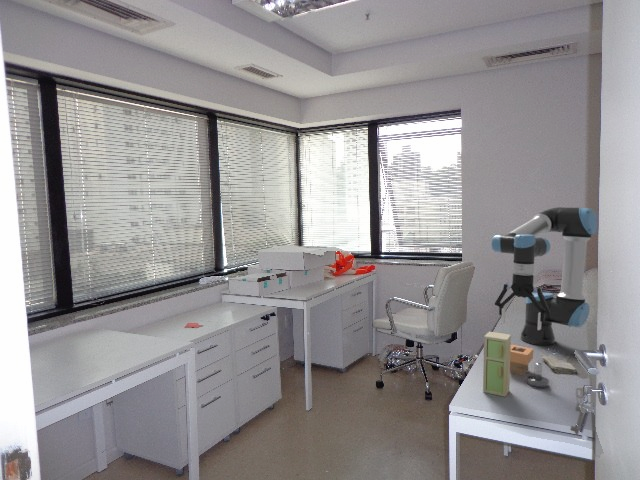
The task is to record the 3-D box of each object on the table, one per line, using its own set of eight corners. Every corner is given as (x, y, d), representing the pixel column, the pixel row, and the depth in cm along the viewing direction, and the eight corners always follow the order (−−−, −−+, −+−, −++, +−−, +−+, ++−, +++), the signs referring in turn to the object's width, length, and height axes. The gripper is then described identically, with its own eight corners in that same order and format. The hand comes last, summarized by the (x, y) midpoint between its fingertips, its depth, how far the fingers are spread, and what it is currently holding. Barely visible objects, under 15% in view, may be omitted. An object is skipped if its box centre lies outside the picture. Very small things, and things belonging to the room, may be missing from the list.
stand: (511, 366, 191) (512, 344, 190) (528, 370, 187) (529, 347, 186) (507, 371, 186) (508, 348, 185) (523, 375, 182) (525, 352, 181)
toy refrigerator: (481, 392, 167) (483, 336, 164) (486, 385, 173) (488, 331, 170) (504, 398, 162) (507, 340, 160) (509, 390, 168) (511, 334, 166)
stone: (540, 360, 199) (540, 354, 199) (566, 362, 197) (567, 356, 197) (550, 373, 185) (550, 367, 185) (579, 375, 183) (579, 369, 183)
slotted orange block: (509, 353, 192) (510, 344, 192) (532, 358, 187) (533, 348, 186) (503, 359, 185) (503, 350, 185) (527, 364, 180) (527, 355, 179)
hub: (529, 379, 179) (530, 359, 178) (550, 383, 174) (551, 363, 173) (524, 385, 173) (525, 364, 172) (545, 390, 169) (546, 369, 168)
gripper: (487, 271, 186) (486, 322, 189) (556, 278, 171) (553, 334, 174) (493, 269, 192) (491, 318, 195) (560, 275, 177) (557, 329, 180)
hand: (520, 326), depth 184 cm, fingers open, 13 cm apart
